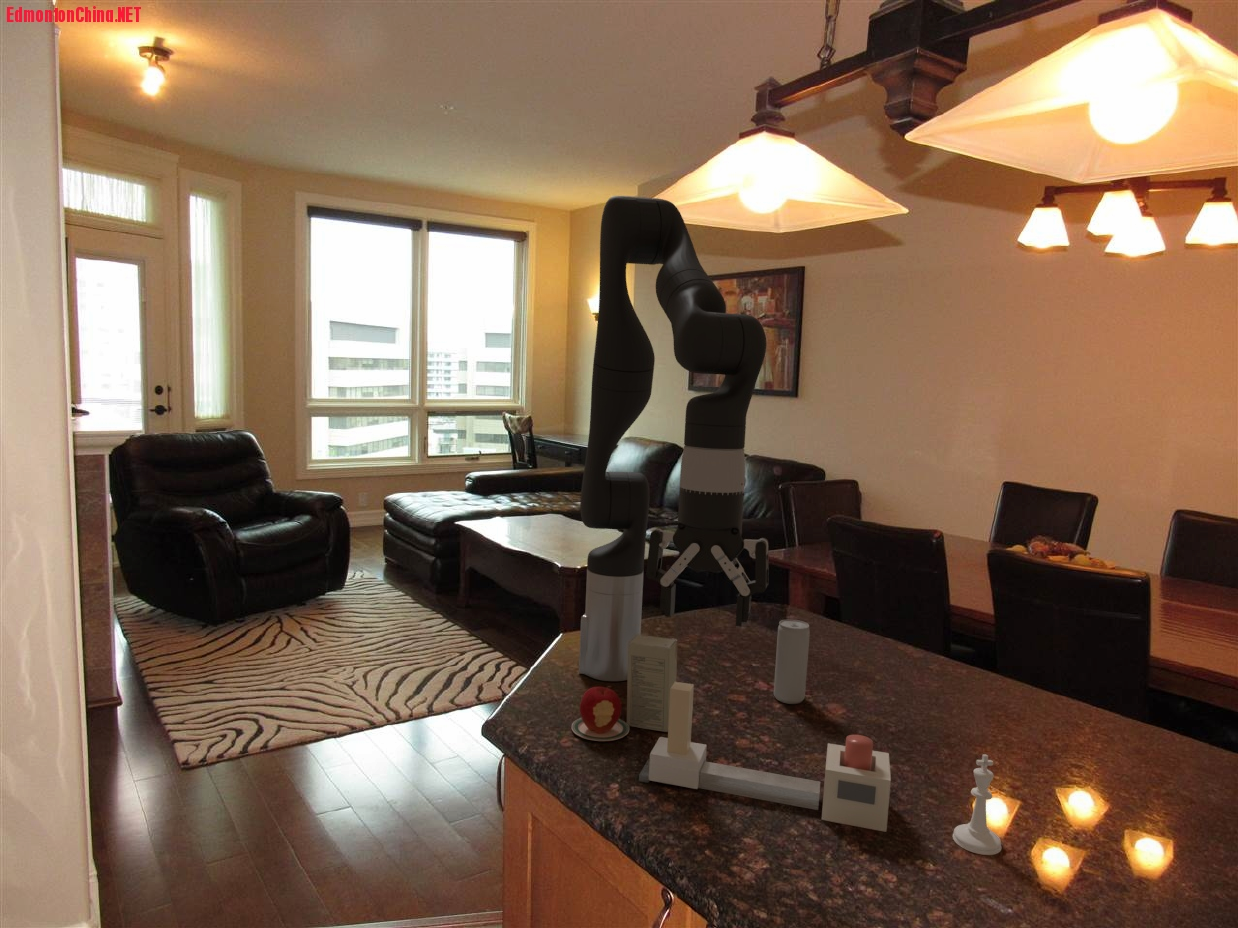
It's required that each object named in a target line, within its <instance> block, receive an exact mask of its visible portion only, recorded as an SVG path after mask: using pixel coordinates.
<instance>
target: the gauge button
mask: <svg viewBox="0 0 1238 928" xmlns="http://www.w3.org/2000/svg"><path fill="white" fill-rule="evenodd" d="M844 746H845V758H844V767H850V768H856V769H861V770H867V771H871V763H872V751H874V749H873V748H874V741H873V739H871V738H870V737H868V736H865V735H861V734H850V735H847V736H846V737H845V745H844Z"/></svg>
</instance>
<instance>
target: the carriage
mask: <svg viewBox="0 0 1238 928" xmlns="http://www.w3.org/2000/svg"><path fill="white" fill-rule="evenodd" d="M694 688H695V685H694V684H693V683H686V682H680V681H676V682H674V684H673V685H672V687H671V689H670V707H669V726H668V732H667V737H663V736H659V737H658V739H657V741H656V742H655V745H653V748H652V750H651V751H650V754H649V757H650V763H649V780H650V781H652V782H655V783H656V782H657V783H660V784H661V783H662V784H666V785H673V786H679V787H684V788H689V789H694V790H698V789H699V788H698V786H699V772H700V769H701V767H702V765H703V762H704V761H706V762H707V744H703V743H698V742H694V741H692V725H693V705H694V690H695V689H694Z"/></svg>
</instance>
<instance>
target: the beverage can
mask: <svg viewBox="0 0 1238 928" xmlns="http://www.w3.org/2000/svg"><path fill="white" fill-rule="evenodd" d="M778 624H779V625H778V627H777V639H776V656H775V670H774V680H773V682H774V683H773V684H774V685H773V686H774V687H773V695H774V698H775V699H776V700H777V701H779V702H780V703H783V704H789V705H796V704H800V703H802V702H803V700H804V699H805V698H806V688H807V687H806V684H807V672H808V663H809V662H808V661H809V660H808V658H809V648H810V647H809V645H810V635H811V634H810V633H811V631H810V625H809V623H808V622H805V621H802V620H798V619H783V620H779V623H778Z"/></svg>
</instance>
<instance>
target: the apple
mask: <svg viewBox="0 0 1238 928" xmlns="http://www.w3.org/2000/svg"><path fill="white" fill-rule="evenodd" d="M611 688H612V685H608V686H606V687H604V686H592V687H590V688H588V689H586V691H585V692H584V693H583V695H582V697H581V700H580V702H579V713H580V718H578V719H576V720H574V721H573V722H572V724H571V730H572V732H573V734H575V735H576V736H578V737H580V738H582V739H585V740H589V741H596V742H611V741H616V740H619V739H622V738H624V737H625V736H627V735H628V734H629V733H630V726H628V724H627V721H624V720H623V719H621V718H620V717H621V713H622V702H621V699H620V697H619V696H618V694H617V693H616V692H615V690H613V689H611Z"/></svg>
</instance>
